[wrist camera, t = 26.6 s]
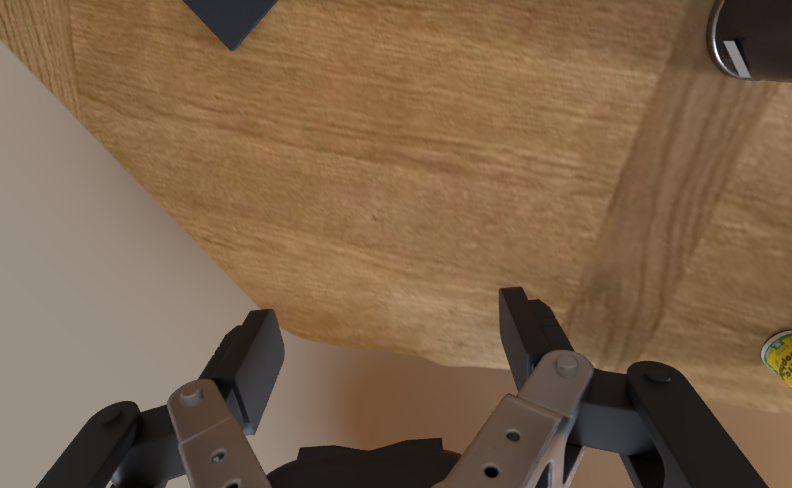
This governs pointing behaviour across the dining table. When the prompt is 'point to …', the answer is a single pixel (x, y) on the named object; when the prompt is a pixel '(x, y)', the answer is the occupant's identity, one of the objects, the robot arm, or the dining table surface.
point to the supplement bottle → (779, 355)
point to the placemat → (230, 17)
